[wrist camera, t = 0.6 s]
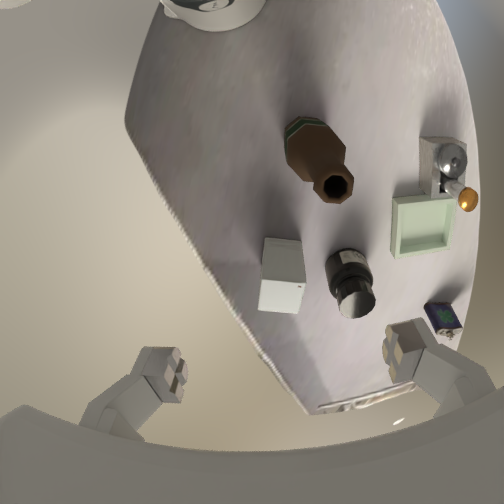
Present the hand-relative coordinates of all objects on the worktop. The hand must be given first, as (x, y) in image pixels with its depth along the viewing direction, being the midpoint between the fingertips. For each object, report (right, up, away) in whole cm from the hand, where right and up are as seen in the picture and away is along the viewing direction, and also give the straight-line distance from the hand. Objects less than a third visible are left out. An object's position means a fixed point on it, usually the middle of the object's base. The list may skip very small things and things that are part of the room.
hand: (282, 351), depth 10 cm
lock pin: (+34, +18, +32) cm, 50 cm away
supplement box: (+5, +3, +45) cm, 45 cm away
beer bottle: (+8, +23, +32) cm, 40 cm away
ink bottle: (+18, +1, +45) cm, 49 cm away
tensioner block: (+33, +20, +31) cm, 50 cm away
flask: (+49, -11, +51) cm, 71 cm away
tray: (+33, +10, +38) cm, 51 cm away
